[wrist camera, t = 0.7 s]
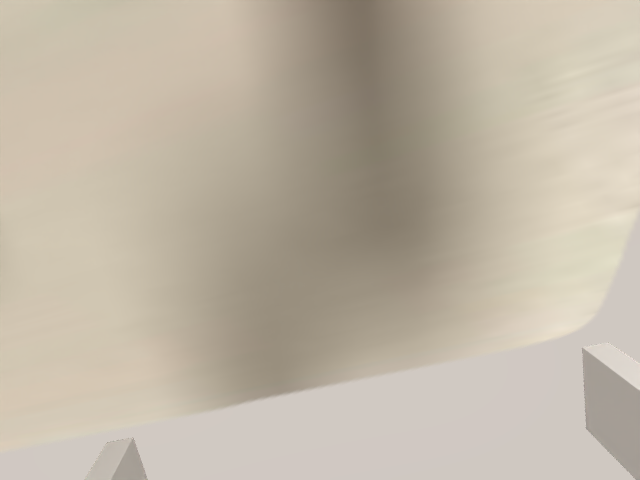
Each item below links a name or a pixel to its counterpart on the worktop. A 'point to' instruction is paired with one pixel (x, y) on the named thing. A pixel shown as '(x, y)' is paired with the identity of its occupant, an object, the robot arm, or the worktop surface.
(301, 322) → the worktop surface
